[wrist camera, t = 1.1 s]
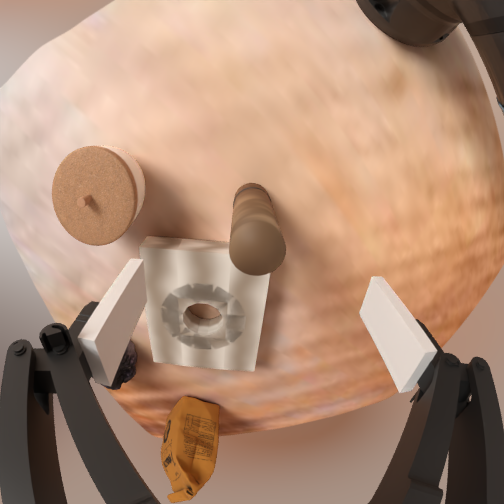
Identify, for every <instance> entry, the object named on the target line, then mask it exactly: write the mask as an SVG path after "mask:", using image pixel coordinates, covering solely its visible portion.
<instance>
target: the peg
mask: <svg viewBox="0 0 504 504" xmlns="http://www.w3.org/2000/svg"><path fill="white" fill-rule="evenodd" d="M285 254H286V245H285V242H284V239H283V236H282V233H281V230H280V227H279V224H278V221H277V218H276V215H275V213H274V210H273V207H272V204H271V200H270V197H269V196H268V193H267V191H266V190H265V189H264V188H263V187H262V186H261V185H259V184H255V183H248V184H245V185H243V186H241V187H240V188H239V189H238V190H237V192H236V194H235V199H234V204H233V216H232V225H231V234H230V244H229V256H230V259H231V261H232V263H233V265H234V266H235V267H236V268H237V269H238V270H240V271H241V272H243V273H245V274H248V275H253V276H261V275H266V274H269V273H271V272H273V271H274V270H276V269H277V268H278V267H279V266H280V265H281V263H282V262H283V260H284V257H285Z"/></svg>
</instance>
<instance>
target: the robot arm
mask: <svg viewBox="0 0 504 504" xmlns="http://www.w3.org/2000/svg"><path fill="white" fill-rule="evenodd" d="M356 1H357V3H358V5H359V6H360V8H361V9H362V11H363V12H364V13H365V14H366V16H367V17H368V18H369V19H370V20H371V21H372V22H373V23H374V24H375V25H376V26H377V27H378V28H380V29H381V30H382V31H383V32H385V33H386V34H388V35H389V36H391V37H392V38H394V39H396V40H398V41H400V42H402V43H405V44H408V45H411V46H416V47H426V46H430V45H434V44H437V43H439V42H441V41H443V40H444V39H445V38H446V37H447V36H448V35H449V34H450V33H451V32H452V31H453V30H454V29H455V28H456V27H457V26H458V25H459V23H462V22H463V24H464V26H465V27H466V29H467V31H468V33H469V34H470V37H471V38H472V40H473V42H474V44H475V46H476V48H477V50H478V52H479V54H480V56H481V58H482V61H483V63H484V65H485V67H486V69H487V72H488V74H489V77H490V79H491V81H492V84H493V86H494V89H495V92H496V95H497V101H498V104H499V106H500V107H501V109H502V112H503V115H504V0H356ZM146 303H147V292H146V283H145V272H144V260H143V259H133V258H131V259H130V260H129V262H128V263H127V264H126V266H125V267H124V268H123V270H122V271H121V273H120V274H119V275H118V277H117V278H116V280H115V281H114V282H113V284H112V285H111V287H110V288H109V290H108V291H107V293H106V294H105V295H104V297H103V298H102V300H101V301H100V303H99V302H93V301H92V302H90V303H89V304H88V305H86V306H85V307H84V308H83V309H82V311H81V312H80V315H78V317H77V318H76V321H74V322H73V324H72V325H71V327H70V328H69V330H68V329H67V327H66V326H65V325H63V324H60V323H54V324H50V325H48V326H46V327H45V328H43V329H42V331H41V332H40V336H39V338H40V341H41V343H42V345H43V347H44V349H33V348H32V345H31V344H30V342H29V341H27V340H22V339H21V340H17V341H15V342H13V343H12V344H11V345H10V346H9V348H8V351H7V356H6V361H5V366H4V373H3V379H2V386H1V395H0V488H1V496H2V502H3V504H67V500H66V496H65V492H64V487H63V482H62V477H61V472H60V466H59V460H58V454H57V446H56V437H55V426H54V412H53V393H57V396H58V399H59V402H60V405H61V408H62V411H63V413H64V416H65V419H66V422H67V425H68V427H69V430H70V432H71V435H72V437H73V440H74V442H75V444H76V447H77V449H78V451H79V453H80V455H81V458H82V460H83V462H84V464H85V466H86V468H87V470H88V472H89V474H90V476H91V478H92V480H93V482H94V483H95V485H96V487H97V489H98V491H99V492H100V494H101V496H102V497H103V499H104V501H105V502H106V504H160V502H159V501H158V500H157V498H156V497H155V496H154V494H153V493H152V492H151V490H150V489H149V488H148V486H147V485H146V483H145V482H144V480H143V479H142V478H141V476H140V475H139V473H138V472H137V470H136V469H135V467H134V466H133V464H132V463H131V461H130V459H129V458H128V456H127V454H126V453H125V451H124V450H123V448H122V446H121V445H120V443H119V441H118V439H117V438H116V436H115V434H114V432H113V430H112V429H111V426H110V425H109V423H108V421H107V419H106V417H105V415H104V413H103V411H102V409H101V407H100V405H99V403H98V400H97V399H96V396H95V394H94V392H93V389H92V387H91V385H90V383H89V380H90V378H91V376H93V378H94V380H95V382H96V383H98V384H102V385H106V386H111V385H112V382H113V380H114V377H115V374H116V372H117V369H118V367H119V365H120V362H121V360H122V357H123V355H124V352H125V350H126V348H127V345H128V343H129V341H130V338H131V336H132V334H133V331H134V329H135V327H136V325H137V322H138V320H139V318H140V316H141V314H142V311H143V309H144V307H145V305H146ZM359 314H360V316H361V318H362V320H363V322H364V324H365V325H366V327H367V329H368V331H369V333H370V335H371V337H372V339H373V341H374V343H375V344H376V346H377V348H378V350H379V352H380V354H381V356H382V358H383V360H384V362H385V364H386V366H387V368H388V370H389V372H390V374H391V376H392V378H393V380H394V382H395V385H396V387H397V389H398V391H399V393H403V392H407V391H411V390H412V389H413V388H414V386H415V385H416V383H418V385H419V387H420V388H419V389H418V391H417V392H416V394H415V395H414V396H413V398H412V399H411V401H410V402H412V401H413V400H414V402H413V405H412V408H411V412H410V414H409V417H408V420H407V423H406V426H405V428H404V431H403V433H402V436H401V439H400V441H399V444H398V446H397V448H396V451H395V453H394V455H393V458H392V460H391V462H390V464H389V466H388V469H387V471H386V473H385V475H384V477H383V479H382V481H381V483H380V485H379V487H378V489H377V490H376V492H375V494H374V496H373V498H372V499H371V501H370V502H369V503H368V504H440V503H441V500H442V496H443V490H442V489H440V488H439V487H438V486H439V482H440V479H441V476H442V472H443V469H444V465H445V462H446V458H447V454H448V450H449V460H448V462H449V463H448V479H447V491H446V500H445V504H504V429H503V423H502V418H501V412H500V407H499V403H498V398H497V394H496V390H495V385H494V382H493V378H492V374H491V371H490V367H489V365H488V363H487V362H486V361H485V360H484V359H483V358H480V357H474V358H473V359H472V360H471V362H470V363H469V364H464V363H461V362H460V360H459V359H458V358H457V357H456V356H454V355H453V354H449V353H444V352H443V350H442V349H441V348H440V346H439V345H438V343H437V342H436V340H435V339H434V338H433V337H432V335H431V333H430V332H429V331H428V329H427V328H426V327H425V325H424V324H423V323H421V322H420V321H419V320H418V319H415V318H414V317H413V316H412V314H411V313H410V312H409V310H408V309H407V308H406V306H405V305H404V304H403V302H402V301H401V300H400V298H399V297H398V296H397V295H396V293H395V292H394V291H393V289H392V288H391V287H390V286H389V284H388V283H387V282H386V281H385V279H384V278H383V277H376V276H372V278H371V281H370V284H369V287H368V290H367V293H366V296H365V298H364V301H363V304H362V307H361V310H360V312H359ZM471 395H472V398H471V401H469V397H470V396H471Z"/></svg>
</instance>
